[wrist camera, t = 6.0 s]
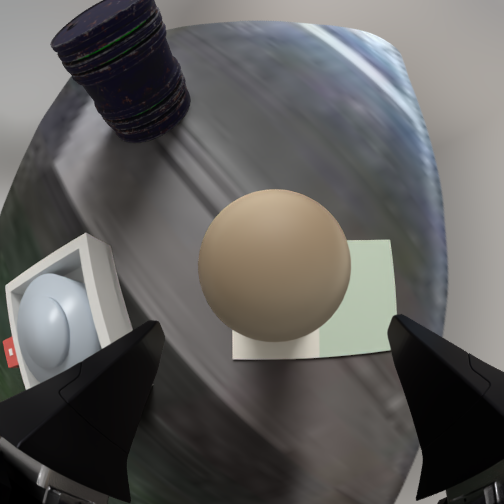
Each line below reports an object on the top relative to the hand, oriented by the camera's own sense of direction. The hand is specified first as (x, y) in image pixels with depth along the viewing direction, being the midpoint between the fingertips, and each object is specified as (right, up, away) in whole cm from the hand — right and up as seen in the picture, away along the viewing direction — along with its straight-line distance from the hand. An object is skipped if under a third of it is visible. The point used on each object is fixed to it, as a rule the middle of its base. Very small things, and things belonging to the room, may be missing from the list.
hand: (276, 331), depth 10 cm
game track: (+4, -1, +11) cm, 11 cm away
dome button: (-18, -5, +10) cm, 21 cm away
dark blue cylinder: (-13, +19, +17) cm, 29 cm away
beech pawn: (+1, -1, +11) cm, 11 cm away
